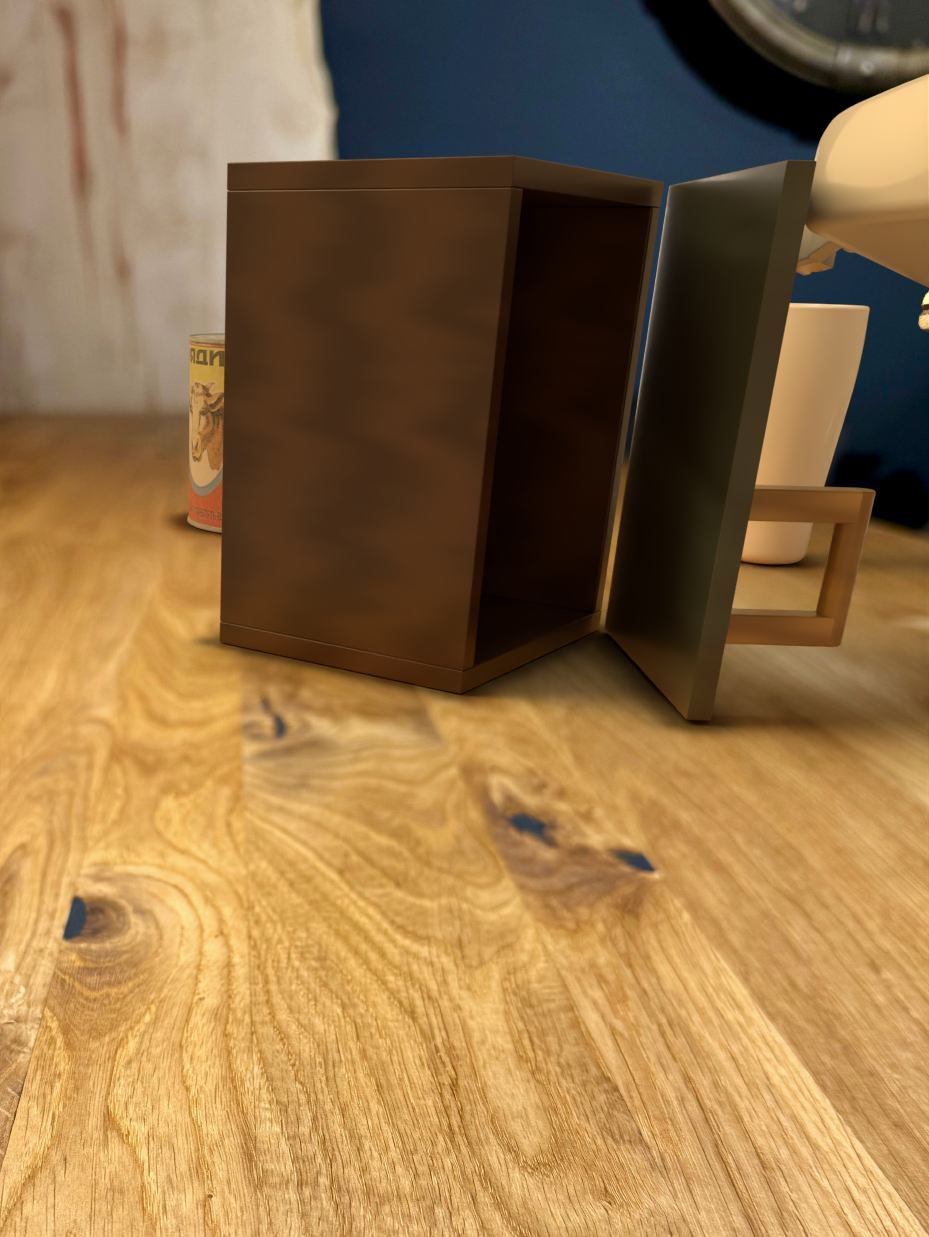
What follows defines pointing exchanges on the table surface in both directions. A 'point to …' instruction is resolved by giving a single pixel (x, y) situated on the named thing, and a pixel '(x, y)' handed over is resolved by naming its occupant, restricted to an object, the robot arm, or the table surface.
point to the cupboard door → (719, 441)
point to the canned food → (206, 430)
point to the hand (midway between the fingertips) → (862, 283)
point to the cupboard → (426, 407)
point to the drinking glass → (806, 416)
